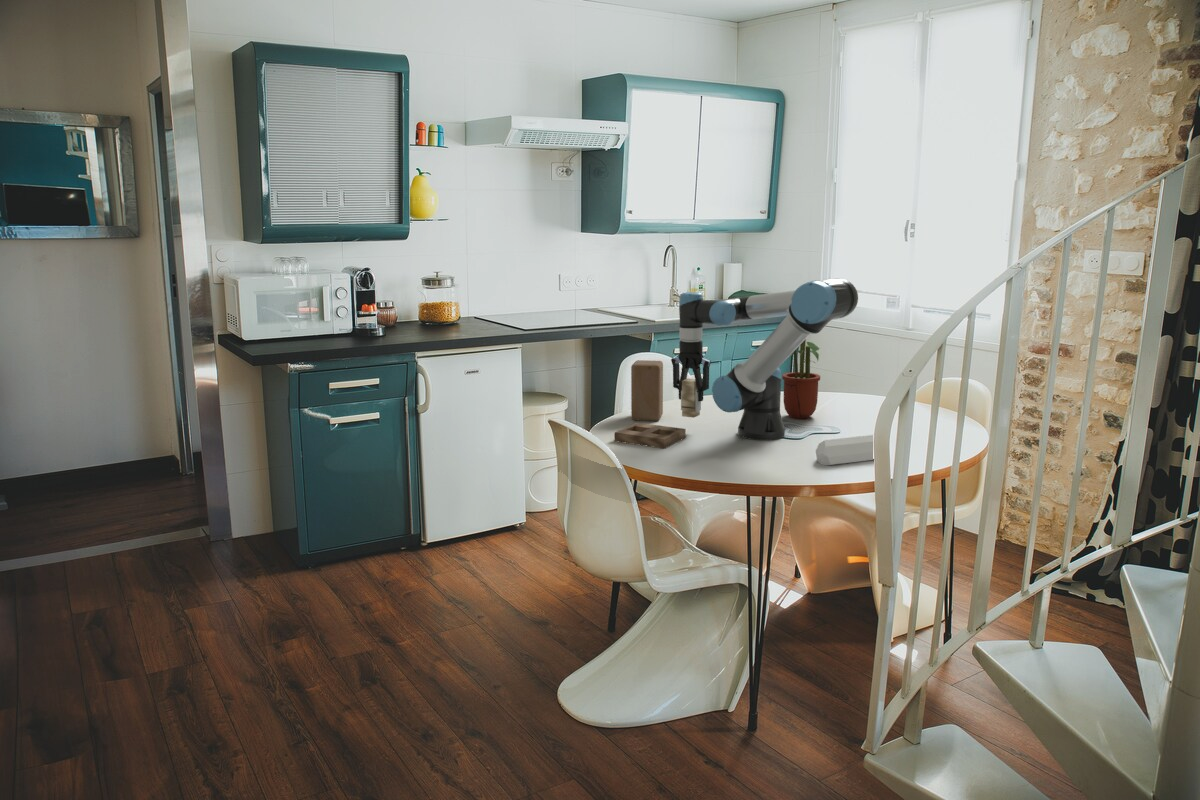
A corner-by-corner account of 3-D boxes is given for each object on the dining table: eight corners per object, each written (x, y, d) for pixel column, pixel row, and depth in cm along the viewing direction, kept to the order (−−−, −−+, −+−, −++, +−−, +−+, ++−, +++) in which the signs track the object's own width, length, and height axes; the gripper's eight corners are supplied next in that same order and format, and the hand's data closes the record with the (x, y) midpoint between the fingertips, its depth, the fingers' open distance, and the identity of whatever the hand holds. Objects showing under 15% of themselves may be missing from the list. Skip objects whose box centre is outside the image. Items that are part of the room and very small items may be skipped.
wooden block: (659, 421, 325) (659, 365, 320) (630, 420, 326) (630, 364, 322) (663, 415, 334) (663, 360, 330) (635, 414, 336) (635, 359, 332)
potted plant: (816, 422, 321) (820, 321, 314) (771, 419, 326) (774, 320, 319) (821, 411, 337) (825, 315, 330) (778, 408, 342) (781, 313, 335)
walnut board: (685, 437, 303) (685, 428, 302) (664, 448, 290) (664, 439, 290) (636, 431, 312) (636, 422, 311) (614, 441, 299) (614, 432, 299)
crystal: (875, 439, 284) (807, 446, 276) (888, 432, 278) (819, 440, 270) (881, 462, 282) (813, 470, 274) (895, 456, 276) (825, 464, 268)
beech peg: (699, 414, 309) (700, 379, 307) (694, 417, 305) (694, 381, 303) (687, 413, 312) (687, 378, 309) (681, 416, 308) (681, 380, 305)
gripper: (720, 340, 302) (719, 410, 307) (672, 337, 311) (672, 405, 316) (710, 343, 296) (710, 414, 301) (661, 340, 305) (662, 409, 309)
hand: (690, 409), depth 308 cm, fingers closed on beech peg, 4 cm apart
